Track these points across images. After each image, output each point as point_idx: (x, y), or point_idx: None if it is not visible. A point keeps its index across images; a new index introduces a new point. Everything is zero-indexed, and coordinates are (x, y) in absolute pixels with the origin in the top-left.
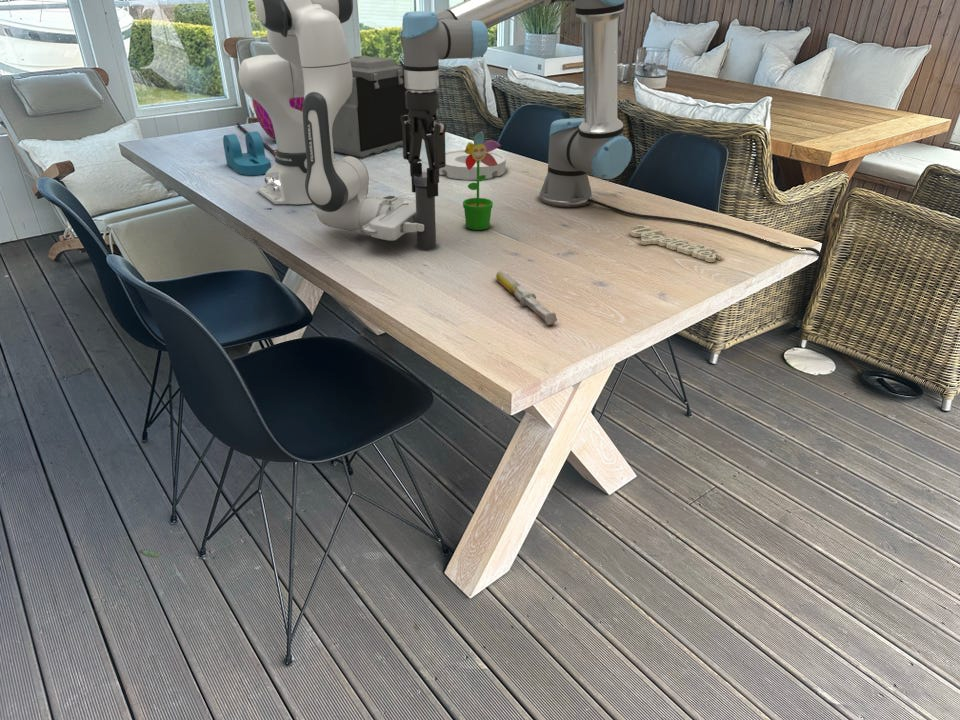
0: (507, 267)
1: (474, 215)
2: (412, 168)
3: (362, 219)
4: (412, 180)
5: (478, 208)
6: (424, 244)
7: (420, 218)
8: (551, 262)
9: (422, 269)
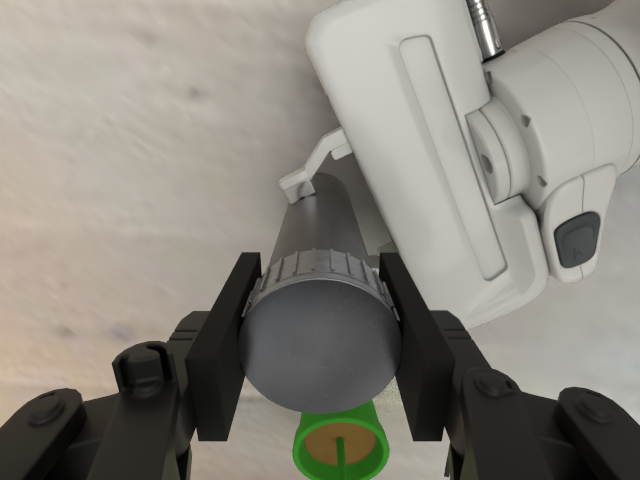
0: (52, 263)
1: None
2: (423, 337)
3: (546, 31)
4: (405, 285)
5: (304, 426)
6: None
7: (307, 200)
8: (29, 357)
9: (171, 62)
